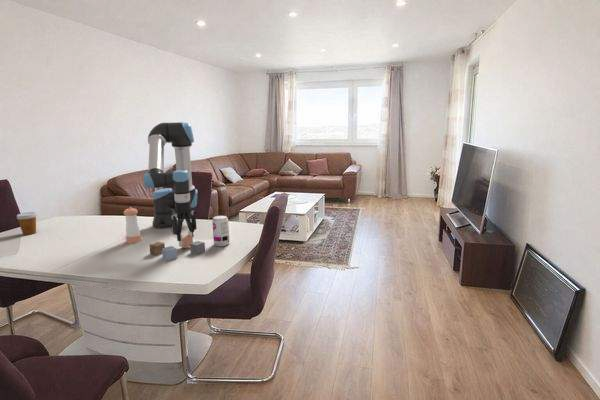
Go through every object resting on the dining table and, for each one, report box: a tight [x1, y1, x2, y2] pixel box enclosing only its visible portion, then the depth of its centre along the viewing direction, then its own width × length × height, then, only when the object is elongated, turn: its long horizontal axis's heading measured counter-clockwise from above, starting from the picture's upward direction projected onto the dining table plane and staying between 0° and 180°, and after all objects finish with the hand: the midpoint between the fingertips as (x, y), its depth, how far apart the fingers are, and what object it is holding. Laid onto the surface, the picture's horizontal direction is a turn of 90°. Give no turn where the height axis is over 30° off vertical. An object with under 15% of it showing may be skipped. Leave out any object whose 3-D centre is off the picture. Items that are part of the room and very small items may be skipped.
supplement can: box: [211, 215, 230, 247], centre depth 186 cm, size 8×8×15 cm
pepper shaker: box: [123, 206, 142, 244], centre depth 192 cm, size 7×7×19 cm
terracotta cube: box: [182, 234, 194, 249], centre depth 182 cm, size 5×5×5 cm
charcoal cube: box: [189, 240, 206, 256], centre depth 175 cm, size 5×5×5 cm
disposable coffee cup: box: [16, 211, 37, 236], centre depth 208 cm, size 10×10×12 cm
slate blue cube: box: [161, 245, 178, 262], centre depth 168 cm, size 5×5×5 cm
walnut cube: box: [148, 241, 166, 257], centre depth 175 cm, size 5×5×5 cm
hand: (186, 244), depth 182 cm, fingers closed on terracotta cube, 5 cm apart
